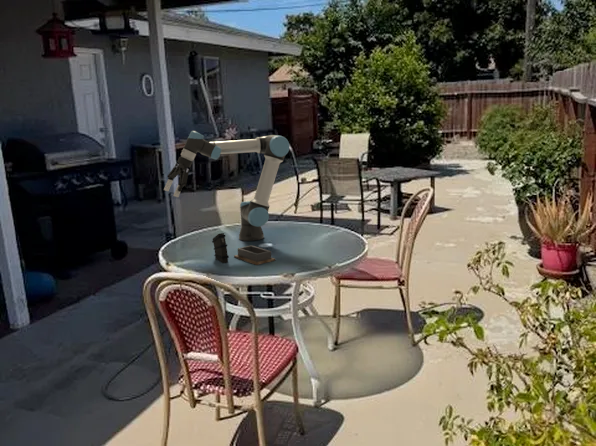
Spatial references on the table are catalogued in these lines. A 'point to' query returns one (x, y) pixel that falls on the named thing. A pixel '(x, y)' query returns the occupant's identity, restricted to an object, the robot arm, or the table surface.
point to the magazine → (220, 248)
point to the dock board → (254, 261)
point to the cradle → (254, 253)
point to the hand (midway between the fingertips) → (170, 193)
